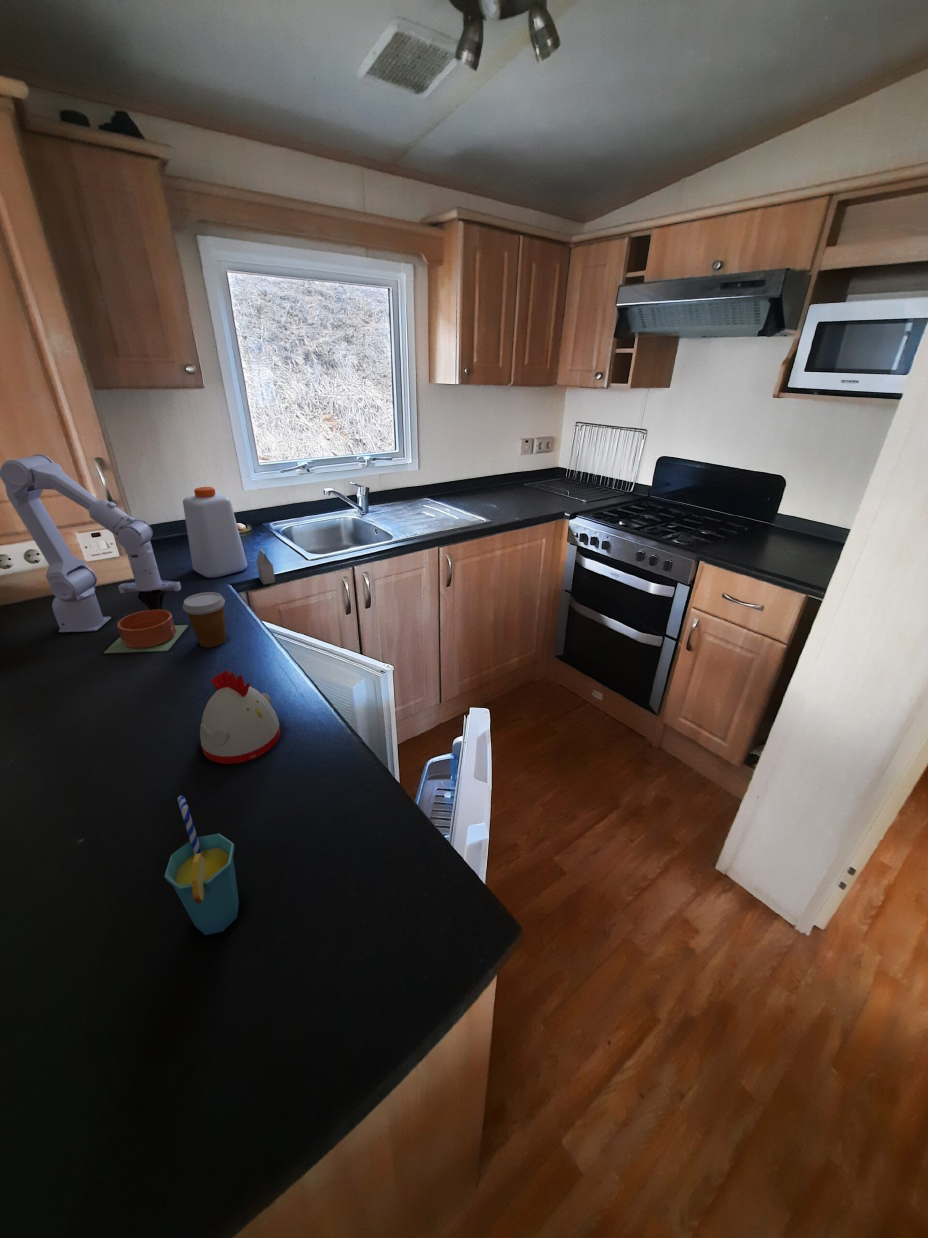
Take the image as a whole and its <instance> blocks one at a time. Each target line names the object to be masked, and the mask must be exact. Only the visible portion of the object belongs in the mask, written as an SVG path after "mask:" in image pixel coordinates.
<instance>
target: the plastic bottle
mask: <svg viewBox="0 0 928 1238" xmlns="http://www.w3.org/2000/svg"><path fill="white" fill-rule="evenodd" d="M193 492H194V495H190V496H186V497H185V498H183V499H182V507H183V513H184V520H185V527H186V533H187V540H188V546H189V552H190V558H191V565H192V570H193V571H195V572H196V573H198V574H199V575H202V576H203V577H204V578H209V579H216V578H221V577H225V576H229V575H231V574H232V575H233V574H236V573H239V572H242V571H244V570H246V569H247V567H248V562H247V558H246V555H245V550H244V547H243V543H242V538H241V535H240V530H239V527H238V523H237V519H236V515H235V512H234V508H233V504H232V501H231V499H230V498H229V497H227V496H225V495H222V494H219V493H216V488H214V487H212V486H199V487H196V488H194V490H193Z"/></svg>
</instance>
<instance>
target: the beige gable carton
mask: <svg viewBox="0 0 928 1238" xmlns="http://www.w3.org/2000/svg"><path fill="white" fill-rule="evenodd" d="M266 554H267V553H265V551H264V550H263V549H262V548H259V550H258V554H257V558H256V561H255V563H256V568H257V569H256V570H257V574H258V579H259V580H260V582H261V583H262V584H263V585H268V584H269V585H270V584H274V583H276V578H275V577H276V576H275V572H274V565H273V563H272V562H271V561H270V560H269V558H268V556H267V555H266Z"/></svg>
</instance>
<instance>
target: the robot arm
mask: <svg viewBox="0 0 928 1238" xmlns="http://www.w3.org/2000/svg"><path fill="white" fill-rule="evenodd" d="M0 479H1V481H2V482H3V484H4V487H5V492H6V496H7V498H8V500H9V502H10V504H11V505H12V507H13V509H14V511H15V512H16V514H17V515H18V516H19V518H20V520H21V521H22V523H23V524H24V526H25V529H26V530H27V532H28V533H29V535H30V536H31V538H32V539H33V541H34V543H35V544H36V546H37V548H38V549H39V550H40V552H41V554H42V555H43V557H44V559H45V561H46V562H47V564H48V567H47V570H46V573H45V578H46V580H47V581H48V586H49V590H50V592H51V594H52V595H53V596H54V598H53V600H52V604H51V607H52V608H51V609H52V612H53V614H54V617H55V620H56V622H57V626H58V627H59V628H58V629H59V630H58V633H80V632H83V633H84V632H97V631H98V630H99V629H101V628H102V627H103V626H104V625H105V624H107V623H108V622H109V621H110V620H111V619H112V616H104V615H103V613H102V610H101V607H100V604H99V601H98V598H97V596H96V595H97V594H96V592H95V591H96V588H95V586H96V585H97V583H98V576H97V574H96V573H95V572H94V570H93V569H91V568H90V567H89V566H88V565H87V563H86V561H84V560H83V559H81V558H78V557H76V556H74V555H73V552H72V551H71V550H70V547H69V546H68V545H67V543H66V540H65V539H64V538H63V536H62V534H61V532H60V531H59V529H58V527H57V526H56V524H55V522H54V520H53V519H52V517H51V515H50V513H49V512H48V510H47V508H46V506H45V505H44V504H43V501H42V500H41V496H42V493H43V492H44V490H54V491H56V492H58V493H59V494H60V495H63V496H64V497H65V498H68V499H69V500H71V501H72V502H74V503H75V504H77V505H78V506H80V507H82V508H83V509H85V510H87V512H88V514H89V518H90V519H91V520H93V521H94V522H96V523H97V524H99V525H100V526H101V527H103V528H104V529H106V530H107V531H109V532H110V533H112V535H115V536H116V537H115V539H116V541H117V543H118V544H119V545H120V546H121V547H123V549H124V552H125V554H126V555H127V559H128V562H129V566H130V569H131V572H132V575H133V579H134V582H127V583H126V582H125V583H121V584H119V585H118V586H117V588H118V590H119V594H125V593H136V592H138V595H136V597H137V599H138V600H139V601H140V602H142V603H143V604H144V605H145V606H146V607H147V610H155V609H160V610H163V604H164V603H163V602H164V597H165V593H166V592H167V591H168V592H169V591H170V592H171V591H174V592H180V591H181V589H182V585H181V582H180V581H171V580H162V578H161V575H160V572H159V567H158V564H157V561H156V557H155V553H154V549H153V546H152V542H151V539H152V537H153V535H154V531H153V529H152V527H151V525H150V524H149V523H148V522H147V521H146V520H144V519H140V518H134V517H133V516H130V515H129V514H127V513H126V512H125V511H123V510H122V509H120V508H119V507H117V504H116V503H115V502H113V501H109V500H108V499H104V500H102V499H98V498H97V497H95V496H94V495H93V494H92V493H90V492H89V491H88V490H87V489H86V488H84V487H83V486H82V485H81V484H79V483H78V482H76V481H75V480H74V479H73V478H72V477H70V476H69V475H68V474H67V473H65V472H64V470H63V468H62V466H61V465H60V464H59V463H57V462H55V461H53V460H52V459H51V457H49V456H47V455H46V454H41V453H37V454H33V455H31V456H25V457H21V458H16V459H8V460H5V461H4V462H3V463H2V465H1V466H0Z"/></svg>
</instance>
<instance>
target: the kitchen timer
mask: <svg viewBox="0 0 928 1238" xmlns="http://www.w3.org/2000/svg"><path fill="white" fill-rule="evenodd" d="M210 682H211V683H212V685H213V687H214V688H215V690H216V691H215V692H214V693H213V694H212V696H211V697H210V698H209V699H208V701H207V703H206V706H205V708H204V710H203V712H202V716H201V723H200V725H199V726H200V729H199V738H200V745H201V750H202V753H203V755H204V756H205V757H206V758H207V759H208V760H210V761H212V762H214V763H219V764H223V765H224V764H225V765H227V764H228V765H229V764H239V763H244V762H248V761H252V760H253V759H256V758H258V757H260V756H262V755H264V754H265V753H267V752H268V751H270V750H271V749H272V748H273V747H274V746H275V745H276V744H277V742H278V741H279V739H280V737H281V732H282V731H281V724H280V721H279V718H278V715H277V713H276V711H275V709H274V708H273V706H272V698H271V697H270V696H269V694H268V693H266V692H262V693H261V692H259V690H257V689H256V688H254V687H252V686H250V685H251V683H250V681H248V682H247V683H246V684H245V682H244V678H243V675H242V674H239V675H238V676H237V677H236V676H235V673H234V671H231V672H230V673H228V671H227V669H225V670H223V671H222V672H221V673H218V674H217V675H215V676H214V677H213V678H211V679H210Z"/></svg>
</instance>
